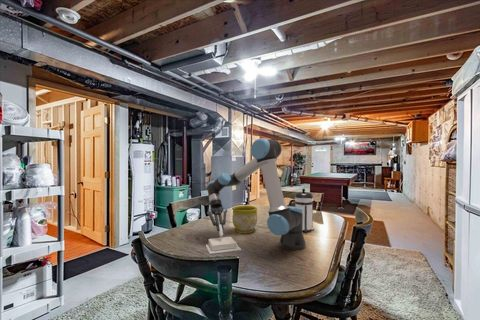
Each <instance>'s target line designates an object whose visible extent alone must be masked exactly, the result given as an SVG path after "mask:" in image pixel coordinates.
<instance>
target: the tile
mask: <svg viewBox="0 0 480 320" xmlns="http://www.w3.org/2000/svg"><path fill="white" fill-rule="evenodd" d="M207 242H208V244H209V245H210V247H211V249H212V250H213V251H217V250H225V249H233V248H237V245H238V243H237V242H236V240H235V239H234V238H233V237H232V236H221V237H214V238H208V241H207Z"/></svg>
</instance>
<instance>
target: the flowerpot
mask: <svg viewBox="0 0 480 320" xmlns="http://www.w3.org/2000/svg"><path fill="white" fill-rule="evenodd" d="M231 210H232V216H231V217H232V224H233V226H234V230H235V231H236V232H237V233H239V234H251V233H253V232H254V231H255V230H256V229H255V228H256V226H257V223H258V207H257V206H253V205H236V206H233V207H232V208H231Z"/></svg>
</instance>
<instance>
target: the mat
mask: <svg viewBox="0 0 480 320" xmlns="http://www.w3.org/2000/svg"><path fill="white" fill-rule="evenodd" d="M205 245H206V246H205V247H206V249H207V252H208V253H209V255H215V254H222V253H223V254H224V253H230V252H238V251H242V249H241V247H240V246H239V245H238V244H237V248H233V249H225V250H217V251H213V250H212V249H211V247H210V245H209V243H208V244H205Z"/></svg>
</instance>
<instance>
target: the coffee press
mask: <svg viewBox="0 0 480 320" xmlns="http://www.w3.org/2000/svg"><path fill="white" fill-rule="evenodd" d="M292 203H294V207H299V208H302V211H303V231H304V233H305V234H307V233H308V231H310V230H312V231H315V228H314V226H313V225H314V223H313V218H314V217H313V216H314V215H313V214H314V213H313V212H314V210H313V209H314V208H313V207H314V205H313V204H314V195H313V194H312V193H311V192H309V191H306V188H302V191H298V192H296V193H295V194H294V199H291V200H289V202H288V206H292Z"/></svg>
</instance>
